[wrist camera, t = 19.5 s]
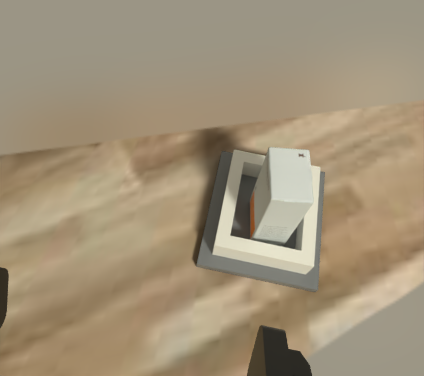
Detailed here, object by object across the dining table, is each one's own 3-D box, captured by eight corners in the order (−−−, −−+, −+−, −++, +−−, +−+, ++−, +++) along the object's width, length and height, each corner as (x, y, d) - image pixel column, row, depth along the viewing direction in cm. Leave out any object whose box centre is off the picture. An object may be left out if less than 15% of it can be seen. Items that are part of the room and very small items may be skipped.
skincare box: (248, 199, 48) (268, 144, 37) (281, 202, 48) (310, 148, 38) (248, 245, 45) (270, 199, 34) (284, 248, 45) (316, 203, 35)
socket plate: (196, 266, 44) (197, 255, 41) (221, 154, 52) (224, 137, 49) (315, 292, 44) (327, 283, 40) (322, 175, 52) (332, 159, 48)
